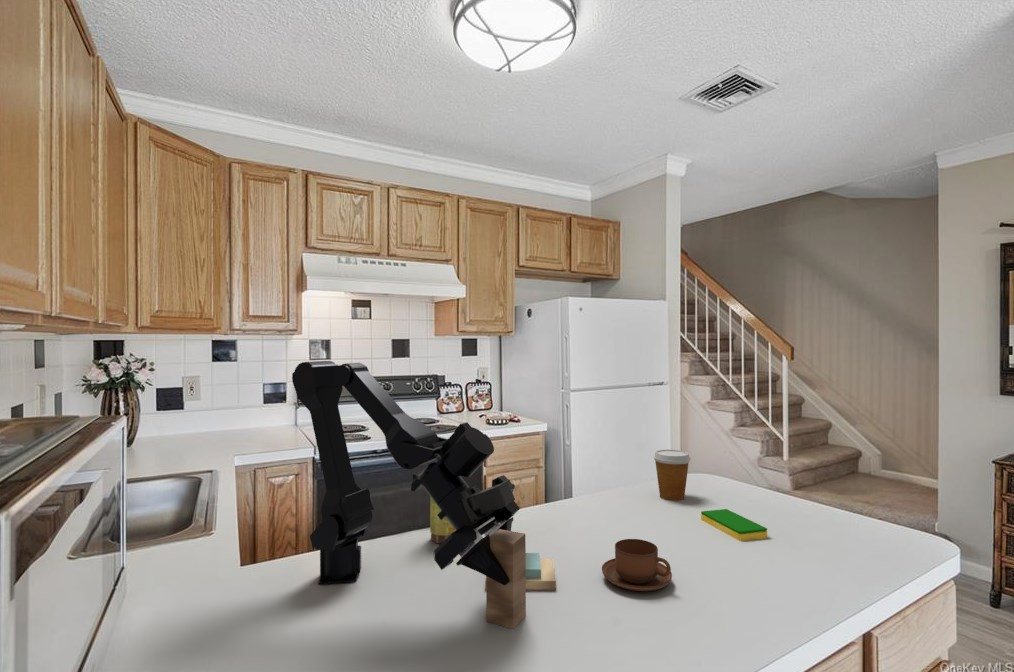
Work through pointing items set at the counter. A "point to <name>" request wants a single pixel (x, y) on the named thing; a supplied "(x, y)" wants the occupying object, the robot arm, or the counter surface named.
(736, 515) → the dish sponge
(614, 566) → the cup and saucer
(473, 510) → the robot arm
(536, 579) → the plinth
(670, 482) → the disposable coffee cup
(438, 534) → the sauce bottle
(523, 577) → the pillar
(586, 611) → the counter surface
